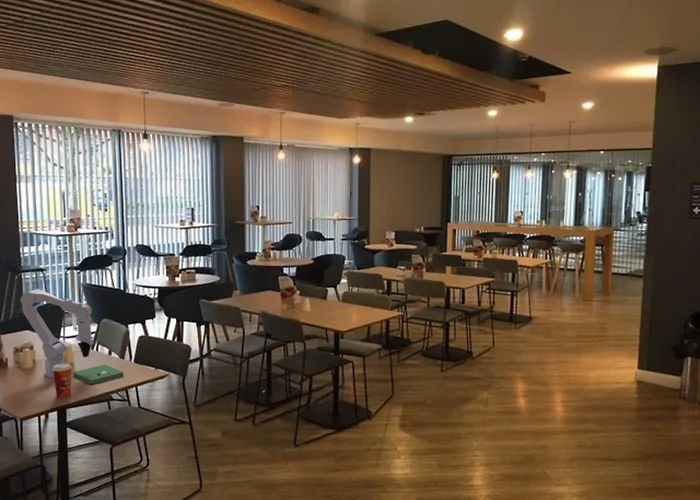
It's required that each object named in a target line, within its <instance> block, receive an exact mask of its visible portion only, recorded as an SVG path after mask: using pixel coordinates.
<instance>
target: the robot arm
mask: <svg viewBox="0 0 700 500" xmlns="http://www.w3.org/2000/svg"><path fill="white" fill-rule="evenodd" d="M19 302H20V303H21V308H22V313H23V315H24V316H25V318H26V319H27V321H28V322H29V324H30V325H31V327H32V328H33V330H34V331H35V333H36V335H37V336H38V337H39V339H40V341H41V342H42V347H41V349H42V350H43V354H44V357H45V358H46V359H45V360H44V363H45V364H44V368H45V373H43V375H44V376H45V377H47V378H49V379H54V372H53V370H52V369H53V367H54V366H55V365H57V364H63V363H65V360H64V359H65V358H64V353H65V351H66V345H65V344H64V343H63V342H61V341H60V339H59V338H57V337H55V336H54V334H52V331H51V330H50V329H49V327H48V326H47V324H46V323H45V321H44V319H43V317H42V316H41V315H40V313H39V312H38V307H39V305H40V303H42V302H43V303H45V302H46V303H48V304H52V305H55V306H58V307H60V308H61V310H62V311H64V312H68V313H70V314H73V315H74V316H75V317H76V319H77V334H78V335H76V341H78V343H77V346H78V347H79V349H80V352H81V353H82V357H83V358H86V357H89V356H90V351H91V348H92V345H94V344H95V341H94V340H93V339H94V336H92V329H91V328H92V327H91V325H92V323H91V314H92V312H93V309H92V307H91V306H90V305H89V304H87V303H82V302H76V301H74V300H73V299H72V298H70V299H68V298H67V299H62V298H60V297H58V296H55V295H54V294H51V293H48V292H47V291H45V290H41V289H39V288H34V289H32V290H29V291H25V292H23V294H22V295H21V297H20V300H19Z"/></svg>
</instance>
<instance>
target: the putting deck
mask: <svg viewBox="0 0 700 500" xmlns="http://www.w3.org/2000/svg"><path fill="white" fill-rule="evenodd" d="M103 371H105V372H107V373H108V375H105V376H101V377H100V374H101V372H103ZM72 373H73V375H72V376H73V377H74V378H77V379H79V380H81V381H83V382H85V383H88V384H90V385H94V384H98V383H102V382H105V381H110V380H114V379H117V378H122V377H124V371H122V370H119V369H117V368H114V367H112V366H109V365H107V364H101V365H97V366H93V367H89V368H84V369H79V370H77V371H73V372H72Z"/></svg>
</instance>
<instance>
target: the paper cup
mask: <svg viewBox="0 0 700 500" xmlns="http://www.w3.org/2000/svg"><path fill="white" fill-rule="evenodd" d="M72 367H73V366H72V365H71V364H70V363H67V362H64V363H63V364H57V365H55V366H54V367H53V369H52V370H53V372H54V378H53V379H54V385H55V386H54V387H55V395H56V398H58V399H65V398H68V397H71V393H72V392H71V391H72Z"/></svg>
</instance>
